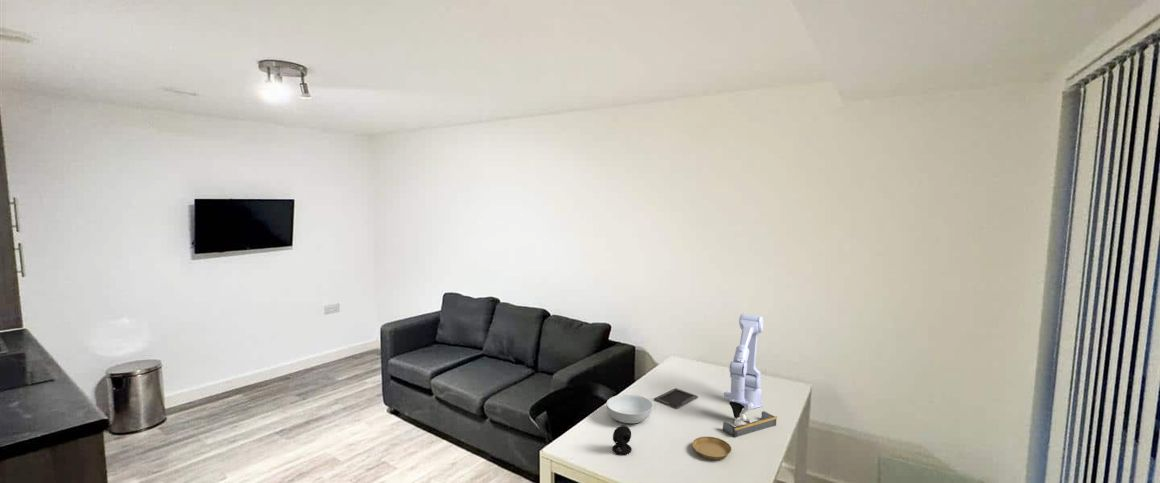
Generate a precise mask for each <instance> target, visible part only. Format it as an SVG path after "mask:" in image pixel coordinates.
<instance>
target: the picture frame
mask: <svg viewBox="0 0 1160 483" xmlns="http://www.w3.org/2000/svg"><path fill="white" fill-rule="evenodd" d="M698 398H699V396H698V395H696V394H694V393H692V392H687V391H686V390H682V389H679V388H676V387H675V388H673V389H671V390H668V391H667V392H664V393H663V394H662V393H661V394H660V395H658V396H656V397H654V398H653V401H655V402H657V403H660V404H662V405H665V406H668V407H670V408H673V409H675V410H678V409H680V408H681V407H684V406H685V405H687V404H689V403H691V402H693V401H696V400H697V399H698Z"/></svg>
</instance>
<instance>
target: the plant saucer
mask: <svg viewBox="0 0 1160 483" xmlns="http://www.w3.org/2000/svg"><path fill="white" fill-rule="evenodd" d="M692 448H693V449H694V450H695V451H696V453H697V454H699V455H700V456H701V457H703V458H705V459H708V460H715V461H717V460H722V459H724V458H726V457H727V456H729V454H731V453H732V446H731V445H730V444H729V443H728V441H725V440H724V439H721V438H719V437H714V436H699V437H697V438H695V439H693V441H692Z"/></svg>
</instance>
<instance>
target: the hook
mask: <svg viewBox="0 0 1160 483" xmlns="http://www.w3.org/2000/svg"><path fill="white" fill-rule="evenodd" d="M752 408H753V404H752V403H751V408H750V409H747V408H746V407H745V408H743V409H742V411H741V413H740V417H738V418H735V419H734V422H733V424H734V425H735V427H737V426H740V425H744V424H745V423H742V422H748V423H751V422H752V420H751V419H750V418H747V414H748V413H749V412H750V411H751V410H753V409H752ZM739 421H742V422H739Z"/></svg>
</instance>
